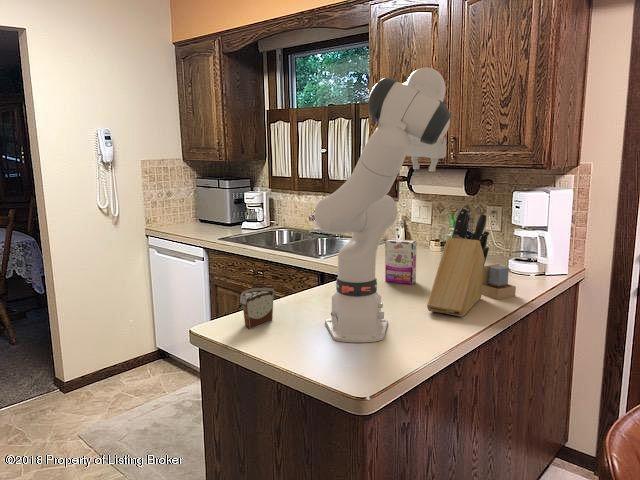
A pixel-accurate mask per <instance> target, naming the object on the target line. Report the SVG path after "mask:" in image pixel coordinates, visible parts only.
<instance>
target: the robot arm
mask: <svg viewBox="0 0 640 480" xmlns="http://www.w3.org/2000/svg"><path fill="white" fill-rule="evenodd" d="M446 89H447V88H446V82H445V79H444V77H443V75H442V74H441V73H440V72H439V71H438V70H436V69H434V68H433V67H421V68H418V69H416V70H414V71H413V72H412V73H411V74H410V76H409V77H408V78H407V81H405V82H403V83H401V82H400V81H399V82H398V80H397V79H394V78H391V77H383V78H381V79H380V80H378V82H377V83H376V84H375V85H374V86H373V87H372V89H371V91H370V93H369V96H368V99H367V110H368V114H369V116H370V118H371V123H372V124H373V125H375V124H376V123H377V124H378V125H377V127H376V128H375V129H374V131H373V133H372V134H371V136H370V137H369V138H368V140H367V142H366V143H365V146H364V147H363V149H362V152H361V154H360V157H359V158H358V160H357V163H356V165H355V167H354V169H353V171H352V173H351V174H350V176H349V177H348V179H347V180H346V181H345V182H344V183H343V184H342V185H341V186H340V187H338V189H336V190H335V191H333V192H332V193H331V194H329V195H328V196H326V197H324V198H322V199H320V200H319V201H318V202H317V204H316V206H315V208H314V213H313V214H314V221H315V222H314V223H315V224H316V226H317V228H318V229H319V230H320V231H321V232H322V233H327V234H334V235H335V234H336V235H344V234H352V236H351V238H350V240H349V241H348V243H346V244H345V245H344V246H342V247H341V248H340V249H339V251H338V254H337V277H336V281H335V285H336V292H335V293H334V294H333V295H331V313H330V316H331V318H326V319H325V321H324V324H325V326H326V328H327V330H328V332H329V334H330V336H331V338H332V339H333V340H334V341H337V342H341V343H342V342H343V343H374V342H375V343H376V342H379V341H383V340H384V339H385V335H386V332H387V328H388V324H389V320H388V319H387V318H385V310H382V309H383V308H384V307H383V306H384V303H382V295H380V294H379V293H378V292H377V288H378V282H377V277H376V261H377V252H378V248H379V246H380V243H381V241H382V238H383V237H384V236H385V233H386V232H387V231H388V229H390V228H391V226H393V225H394V224H395V222H396V220H397V217H398V207H397V203H396V201H395V200H394V198H393V197H392V196H390V195H388V193H389V192H390V190H391V189H392V186H393V184H394V182H395V181H396V179H397V177H398V174H399V173H400V171H401V168H402V166H403V164H404V162H405V159H406V156H408V157H410V159H411V162H412V169H413V170H419V169H420V164H419V161H418V160H419V158H430V162H431V163H430V165H429V166H428V172H436V167H437V165H438V163H439V159H445V158H446V157H447V140H446V136H445V135H446V133H447V132H448V130H449V128H450V122H451V117H452V116H451V113H450V109H449V108H448V106H447V105H446V104H447V103H446V100H445V96H446Z"/></svg>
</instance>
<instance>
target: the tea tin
mask: <svg viewBox="0 0 640 480" xmlns="http://www.w3.org/2000/svg"><path fill="white" fill-rule="evenodd" d="M509 269H510V268H509V267H506V266H503V265H500V266H499V265H497V266H491V267H489V280H488V286H490V287H493V288H497V289H501V288H506V287H508V284H509Z"/></svg>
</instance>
